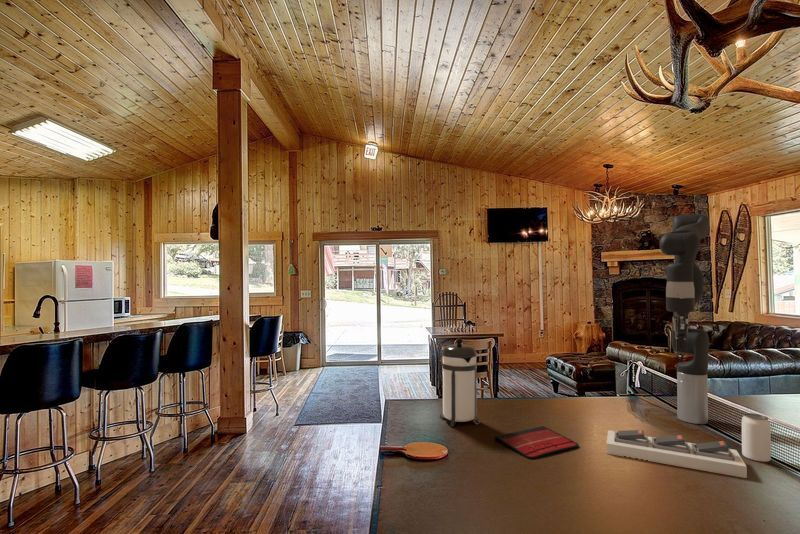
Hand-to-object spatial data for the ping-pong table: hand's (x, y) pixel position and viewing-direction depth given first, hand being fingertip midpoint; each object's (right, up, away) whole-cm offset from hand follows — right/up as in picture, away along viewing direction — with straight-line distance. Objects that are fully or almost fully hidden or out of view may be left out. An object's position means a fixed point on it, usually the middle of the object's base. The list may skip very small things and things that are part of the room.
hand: (680, 351), depth 135 cm
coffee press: (-67, -30, +22) cm, 77 cm away
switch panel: (-10, -29, -10) cm, 32 cm away
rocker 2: (-10, -24, -10) cm, 28 cm away
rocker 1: (-18, -24, -5) cm, 31 cm away
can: (+15, -29, -11) cm, 34 cm away
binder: (-45, -30, -1) cm, 54 cm away
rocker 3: (-1, -24, -15) cm, 28 cm away
